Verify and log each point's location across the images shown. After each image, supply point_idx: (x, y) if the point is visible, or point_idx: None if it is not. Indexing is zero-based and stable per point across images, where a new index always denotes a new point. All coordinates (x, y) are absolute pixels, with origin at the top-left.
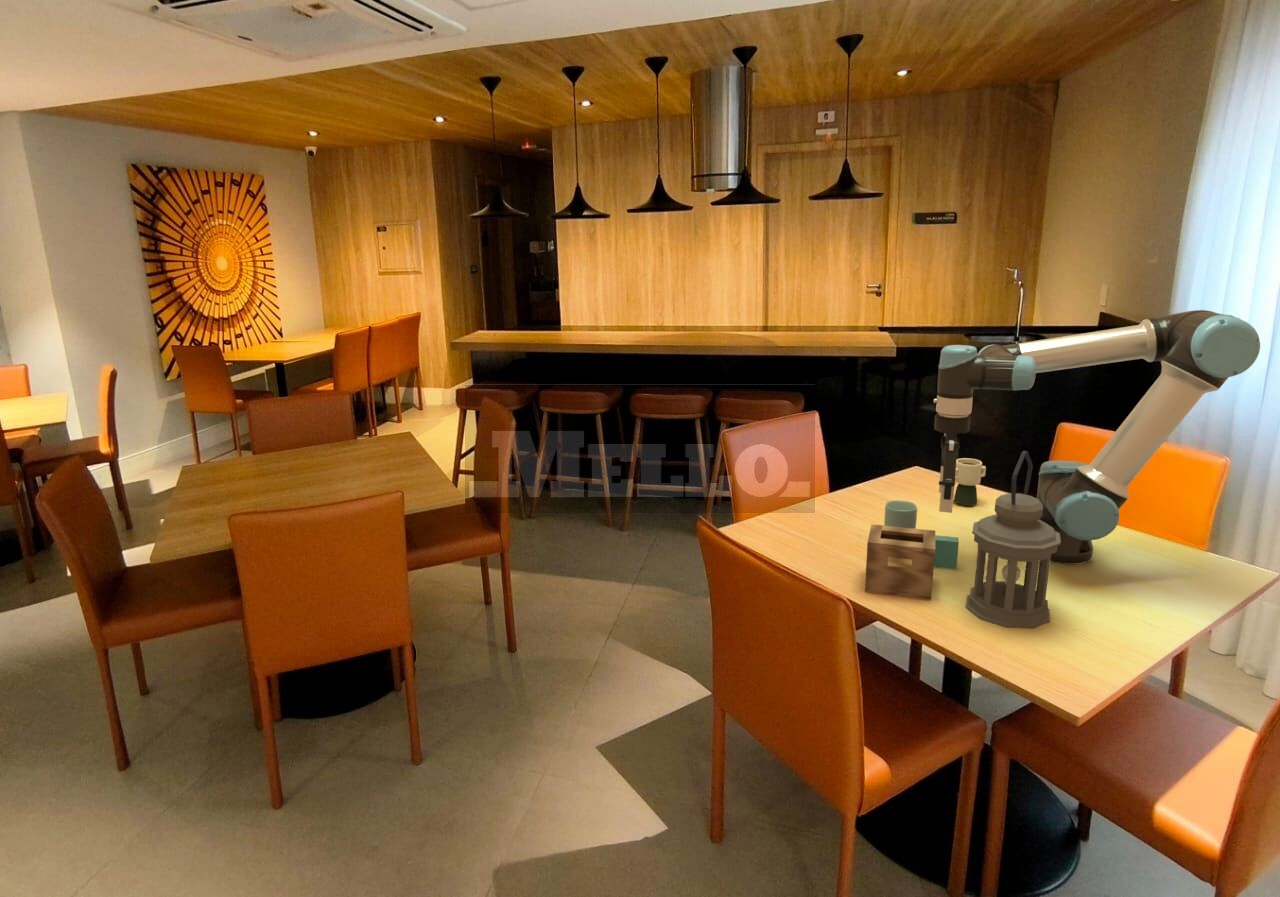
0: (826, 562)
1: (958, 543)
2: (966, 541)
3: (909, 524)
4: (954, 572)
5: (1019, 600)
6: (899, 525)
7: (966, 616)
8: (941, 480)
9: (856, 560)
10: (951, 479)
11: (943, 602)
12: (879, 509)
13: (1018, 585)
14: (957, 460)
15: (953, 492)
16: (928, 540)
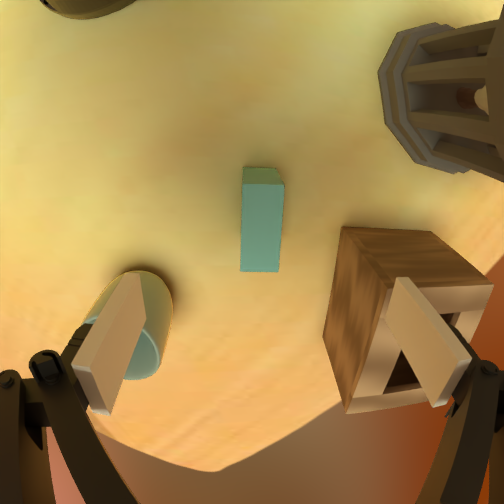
0: (294, 391)
1: (283, 184)
2: (87, 142)
3: (157, 306)
4: (295, 173)
5: (478, 85)
6: (169, 326)
7: (476, 177)
8: (128, 352)
9: (275, 357)
10: (115, 318)
11: (437, 210)
12: (12, 317)
13: (419, 59)
14: None
15: (452, 334)
16: (450, 302)
